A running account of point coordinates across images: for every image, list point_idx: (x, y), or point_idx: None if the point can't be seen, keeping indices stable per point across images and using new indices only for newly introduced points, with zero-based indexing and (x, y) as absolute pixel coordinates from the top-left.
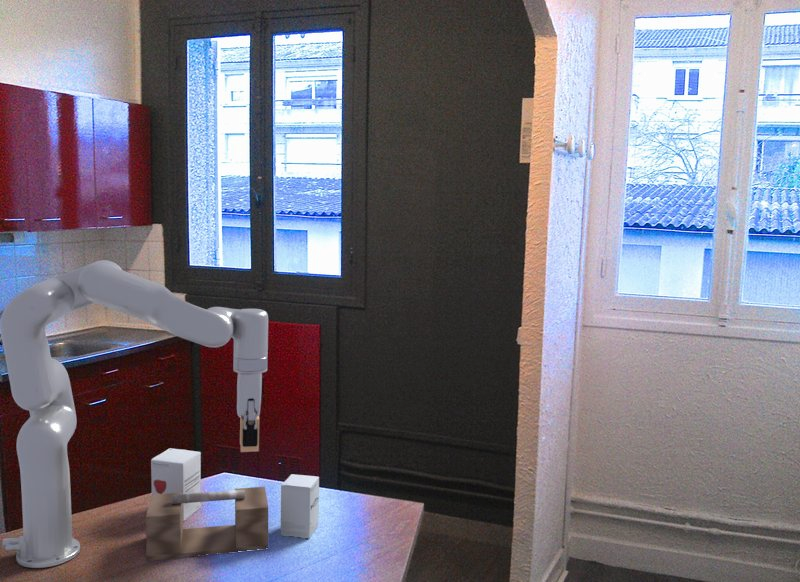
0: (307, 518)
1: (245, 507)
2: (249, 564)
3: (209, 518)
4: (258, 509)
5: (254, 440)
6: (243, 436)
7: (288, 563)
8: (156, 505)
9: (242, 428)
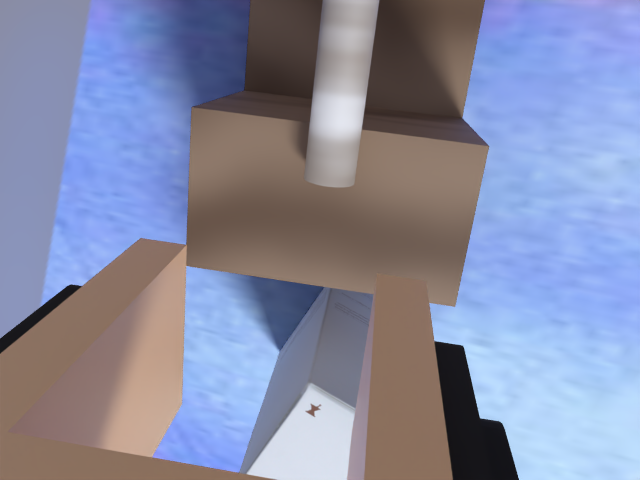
0: (268, 390)
1: (211, 159)
2: (148, 121)
3: (619, 15)
4: (189, 218)
5: None
6: (2, 348)
7: None
8: None
9: None
